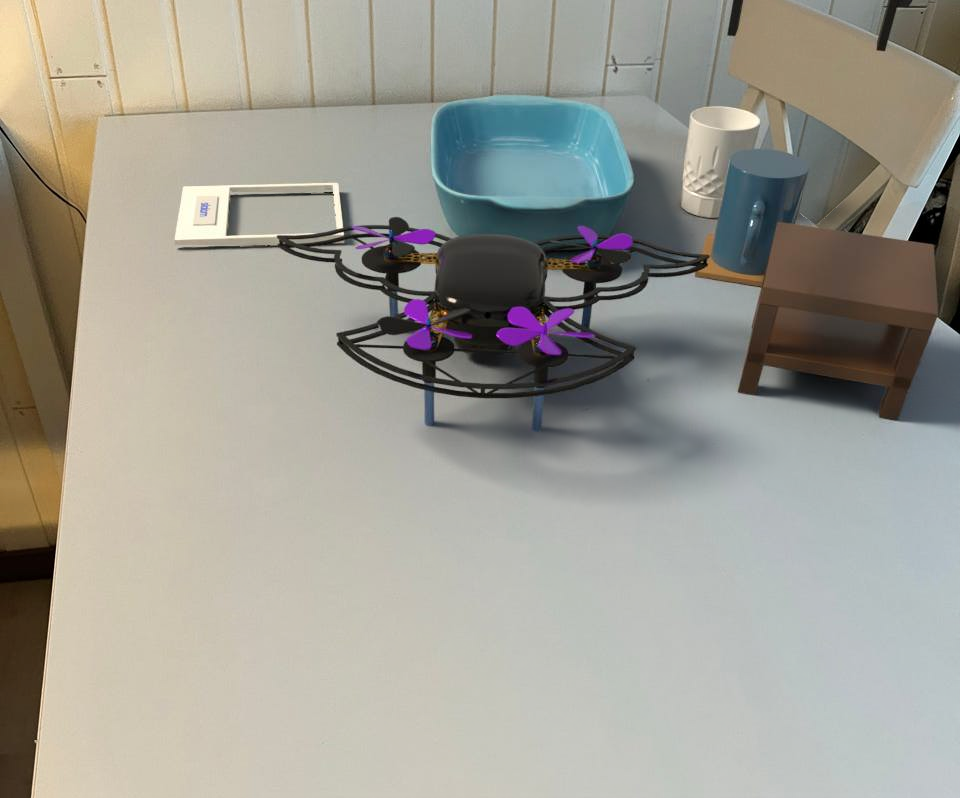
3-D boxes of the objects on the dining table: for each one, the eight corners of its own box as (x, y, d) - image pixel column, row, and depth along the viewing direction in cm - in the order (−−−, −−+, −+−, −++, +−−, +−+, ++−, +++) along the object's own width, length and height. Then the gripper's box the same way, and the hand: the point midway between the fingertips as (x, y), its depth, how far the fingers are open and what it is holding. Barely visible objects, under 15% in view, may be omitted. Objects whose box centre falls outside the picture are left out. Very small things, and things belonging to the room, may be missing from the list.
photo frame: (183, 184, 115) (337, 181, 118) (184, 194, 116) (338, 190, 118) (174, 238, 105) (343, 233, 107) (176, 248, 106) (344, 243, 108)
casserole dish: (431, 146, 130) (431, 86, 125) (600, 149, 131) (606, 90, 126) (429, 272, 104) (429, 203, 99) (639, 275, 105) (649, 207, 100)
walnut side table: (897, 345, 96) (934, 244, 89) (897, 420, 87) (938, 314, 80) (752, 321, 99) (777, 221, 92) (737, 392, 89) (763, 286, 82)
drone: (708, 220, 92) (755, 378, 72) (690, 317, 99) (728, 485, 79) (281, 201, 92) (212, 352, 73) (292, 299, 99) (232, 461, 80)
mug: (787, 249, 110) (811, 154, 102) (779, 292, 102) (805, 193, 95) (715, 238, 111) (734, 144, 104) (702, 280, 104) (721, 182, 96)
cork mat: (795, 252, 110) (797, 247, 110) (789, 291, 104) (790, 285, 103) (706, 238, 112) (707, 233, 112) (694, 276, 106) (695, 270, 105)
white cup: (729, 193, 122) (747, 105, 115) (750, 220, 116) (770, 129, 109) (667, 195, 121) (682, 106, 114) (685, 221, 115) (702, 130, 108)
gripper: (709, -273, 77) (667, 36, 92) (1049, -259, 72) (946, 64, 87) (720, -277, 82) (678, 16, 97) (1039, -264, 78) (943, 42, 93)
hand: (805, 40), depth 92 cm, fingers open, 13 cm apart
